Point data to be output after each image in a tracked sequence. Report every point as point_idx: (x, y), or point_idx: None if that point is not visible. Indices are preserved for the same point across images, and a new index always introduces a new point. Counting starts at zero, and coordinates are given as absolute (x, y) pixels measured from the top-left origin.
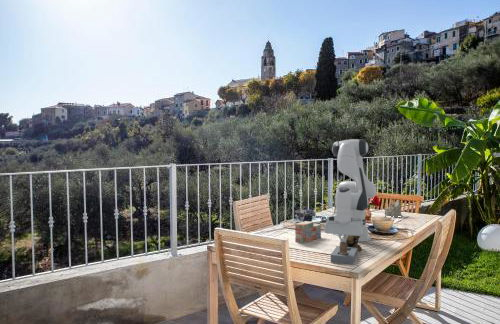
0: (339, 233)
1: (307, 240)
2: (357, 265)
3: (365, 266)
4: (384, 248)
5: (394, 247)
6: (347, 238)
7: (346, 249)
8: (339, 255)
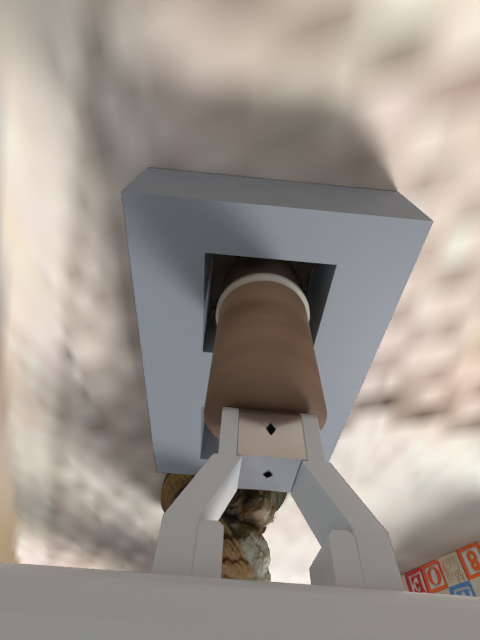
0: (394, 626)
1: (467, 557)
2: (95, 140)
3: (2, 124)
4: (57, 518)
5: (21, 531)
6: (233, 560)
7: (219, 330)
8: (310, 218)
